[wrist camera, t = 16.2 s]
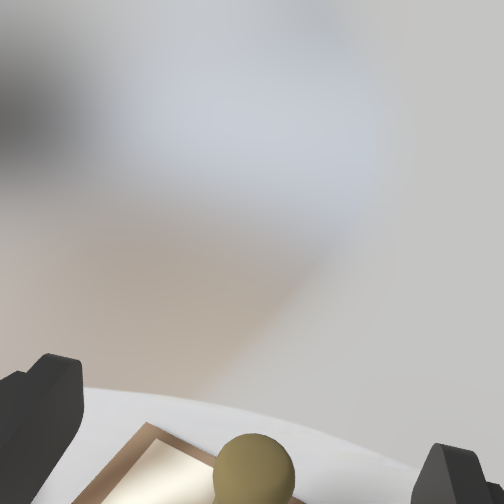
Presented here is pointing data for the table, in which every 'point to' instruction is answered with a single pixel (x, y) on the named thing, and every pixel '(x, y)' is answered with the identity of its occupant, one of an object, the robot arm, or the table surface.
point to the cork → (253, 472)
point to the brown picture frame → (155, 473)
